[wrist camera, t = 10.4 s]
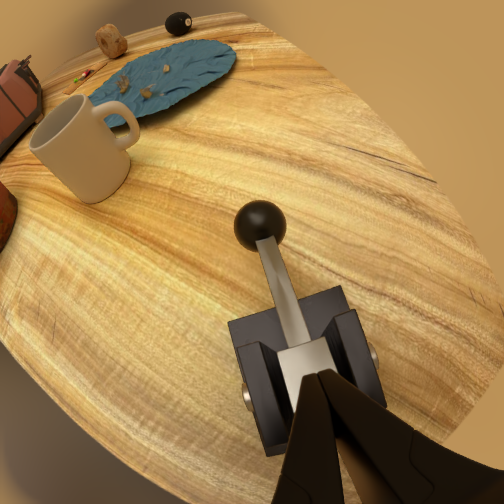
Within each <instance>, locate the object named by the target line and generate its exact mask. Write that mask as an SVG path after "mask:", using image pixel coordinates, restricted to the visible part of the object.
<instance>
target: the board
mask: <svg viewBox="0 0 504 504" xmlns="http://www.w3.org/2000/svg"><path fill="white" fill-rule="evenodd" d="M106 64H107V63H97V64H95V65H94V66H93V67H92V68H90V69H87V70H86V71H85V72H84V73H83V74H82V76H80V77H79V78H78V79H77V78H76V79H75V80H74V82H73V83H72V84H71V85H70V86H69V87H68V88H66V89H65V90H64V91H63V93H65V94H68V95H70V94H71V93H72V92H73V91H74V90H76V89H77V88H78V87H79V86H80V85H81V84H82V83H84V82H85V81H86V80H87V79H88V78H90V77H91V76H92V75H93V74H95V73H96V72H97V71H98V70H100V69H101V68H102V67H104V66H105V65H106Z"/></svg>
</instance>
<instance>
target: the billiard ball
mask: <svg viewBox="0 0 504 504" xmlns="http://www.w3.org/2000/svg"><path fill="white" fill-rule="evenodd" d="M191 25H192V19H191V17H190V16H189V15H188V14H187V13H184V12H177V13H174V14H172V15H170V16H169V17H168V18H167V20H166V22H165V28H166V30H167V31H168V32H169V33H171V34H173V35H180V34H183V33H185V32H187V31H188V30H189V29H190V28H191Z"/></svg>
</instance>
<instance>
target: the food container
mask: <svg viewBox="0 0 504 504" xmlns="http://www.w3.org/2000/svg"><path fill="white" fill-rule="evenodd" d="M16 212H17V200H16V198H15V197H14V196H13V195H12V194H11V193H10V192H9V190H8V189H7V188H6V187H5V186H4V185H3V184H2V183H1V182H0V251H1V250H2V248H3V246H4V245H5V243H6V241H7V239H8V237H9V235H10V233H11V230H12V227H13V224H14V221H15V217H16Z"/></svg>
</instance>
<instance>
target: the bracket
mask: <svg viewBox="0 0 504 504" xmlns="http://www.w3.org/2000/svg"><path fill="white" fill-rule="evenodd" d="M298 302H299V305H300V308H301V311H302V314H303V316H304V319H305V322H306V325H307V328H308V331H309V334H310V336H311V339H312V340H315V339H318V338H321V337H324V336H325V337H326V339H327V342H328V345H329V347H330V350H331V353H332V356H333V358H334V361H335V364H336V367H337V370H338V372H339V375H340V376H342V377H343V378H344V379H346V380H347V381H348V382H350V383H351V384H353V385H354V386H355V387H357V388H358V389H359V390H361V391H362V392H363V393H365V394H366V395H367V396H369V397H370V398H372V399H373V400H374V401H376V402H377V403H379V404H380V405H381V406H383V407H384V408H387V403H386V400H385V396H384V393H383V389H382V386H381V383H380V380H379V376H378V373H377V370H378V368H379V361H378V357H377V354H376V351H375V349H374V347H373V346H372V344H371V343H370V342H367V340H366V337H365V334H364V331H363V329H362V326H361V323H360V320H359V317H358V315H357V312H356V310H355V309H351V310H350V308H349V306H348V303H347V300H346V298H345V295H344V292H343V290H342V287H341V285H339V286H336V287H333V288H330V289H328V290H325V291H322V292H319V293H316V294H313V295H310V296H308V297H305V298H302V299H299V300H298ZM227 323H228V327H229V331H230V334H231V338H232V342H233V345H234V349H235V353H236V356H237V360H238V364H239V367H240V371H241V374H242V378H243V381H244V383H243V384H242V394H243V398H244V402H245V404H246V407H247V408H248V410H249V411H251V412H253V415H254V418H255V422H256V425H257V428H258V431H259V434H260V438H261V441H262V444H263V447H264V450H265V453H266V456H267V457H270V456H275V455H279V454H283V453H286V449H287V445H288V441H289V437H290V432H291V428H292V424H293V419H294V413H293V411H292V407H291V404H290V401H289V397H288V394H287V390H286V387H285V383H284V380H283V376H282V373H281V369H280V366H279V362H278V359H277V355H276V352H278V351H282V350H285V349H288V345H287V342H286V339H285V335H284V332H283V329H282V326H281V322H280V319H279V316H278V313H277V310H276V307H274V308H271V309H268V310H265V311H262V312H259V313H255V314H252V315H249V316H245V317H242V318H239V319H235V320H232V321H229V322H227Z"/></svg>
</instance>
